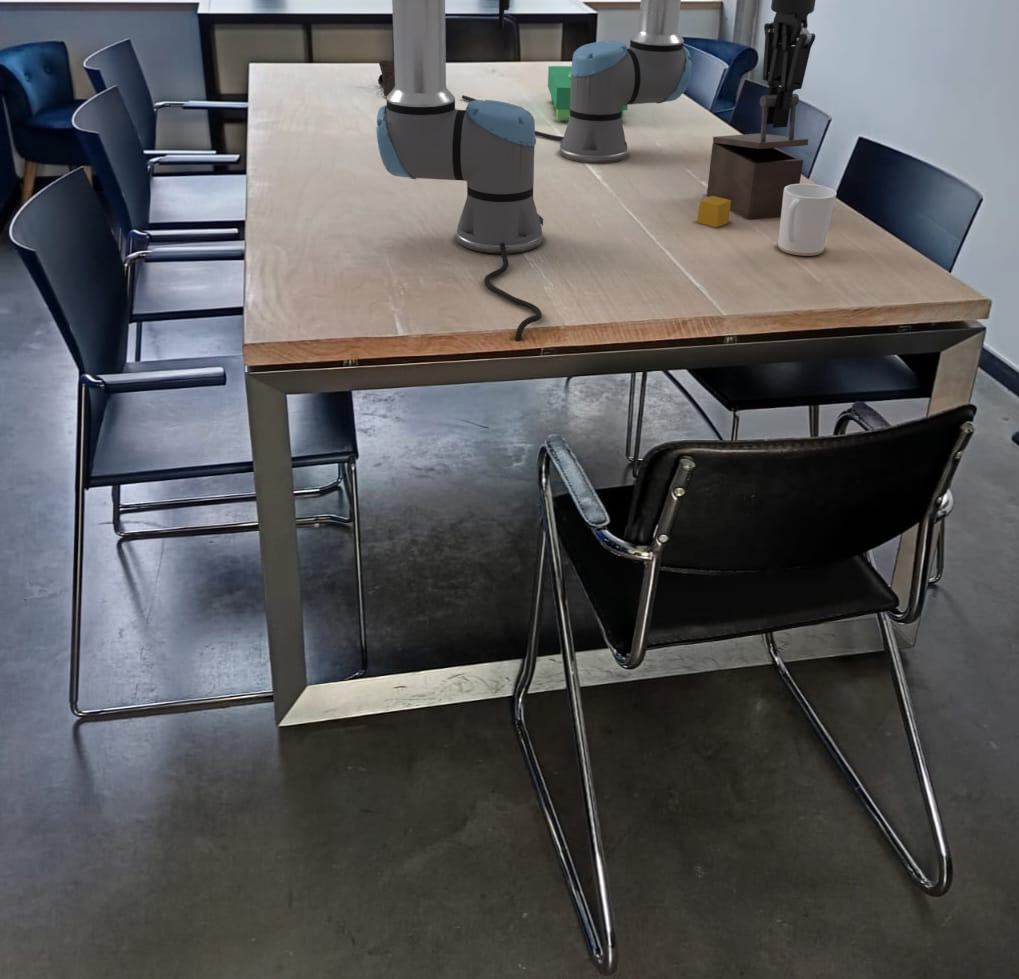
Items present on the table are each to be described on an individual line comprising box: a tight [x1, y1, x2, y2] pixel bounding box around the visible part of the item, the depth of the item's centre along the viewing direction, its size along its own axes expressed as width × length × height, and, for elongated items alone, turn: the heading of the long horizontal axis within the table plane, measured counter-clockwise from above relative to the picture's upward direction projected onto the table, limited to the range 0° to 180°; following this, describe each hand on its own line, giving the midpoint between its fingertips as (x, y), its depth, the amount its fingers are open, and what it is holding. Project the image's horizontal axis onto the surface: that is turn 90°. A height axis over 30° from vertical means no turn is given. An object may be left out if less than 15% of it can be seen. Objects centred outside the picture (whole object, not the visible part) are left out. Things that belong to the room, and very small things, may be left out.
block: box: [697, 196, 731, 228], centre depth 206 cm, size 4×4×4 cm
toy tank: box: [547, 65, 629, 122], centre depth 283 cm, size 18×12×35 cm
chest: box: [706, 142, 804, 220], centre depth 215 cm, size 16×10×10 cm, turn 20°
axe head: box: [377, 59, 395, 97], centre depth 299 cm, size 18×8×15 cm
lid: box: [712, 93, 809, 149], centre depth 209 cm, size 17×10×9 cm, turn 20°
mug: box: [777, 183, 837, 257], centre depth 191 cm, size 11×9×10 cm
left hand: (468, 26), depth 224 cm, fingers open, 13 cm apart
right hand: (775, 124), depth 205 cm, fingers closed on lid, 2 cm apart
